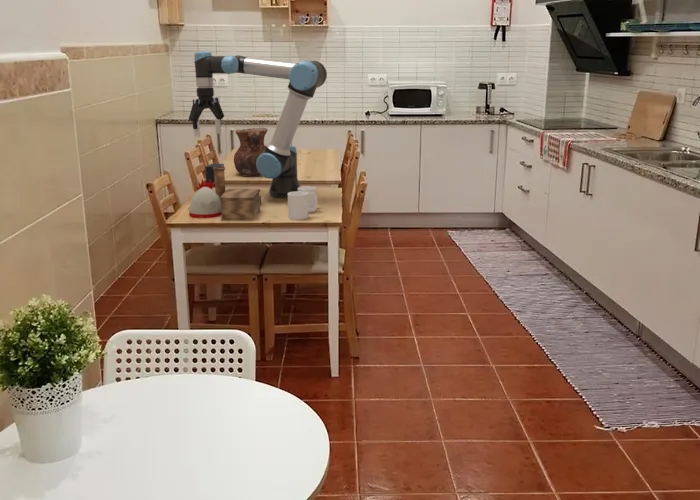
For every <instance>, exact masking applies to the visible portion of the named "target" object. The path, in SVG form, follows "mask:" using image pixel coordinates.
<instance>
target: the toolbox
mask: <svg viewBox="0 0 700 500" xmlns="http://www.w3.org/2000/svg"><path fill="white" fill-rule="evenodd" d="M260 193H261V188H227V189H225V193H224V194H223V195H222V196H221V197H220V201H221V214H222V215H221V220H222V221H254V220H255V219H256V217H257V216H258V215H259V212H260V211H261V204H262V195H260Z"/></svg>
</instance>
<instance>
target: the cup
mask: <svg viewBox="0 0 700 500" xmlns="http://www.w3.org/2000/svg"><path fill="white" fill-rule="evenodd" d="M312 194H314V197H315V207H314V208H308V196H309V195H312ZM317 206H318V198H317V192H316V193H314V192H313V193H307V192H303V191H295V192H289V193H288V197H287V213H288V214H287V215H288V216H287V217H288V219H289V220H294V221H295V220H296V221H300V220H301V221H302V220H307V219H309V214H310V213H308V211H315V210H317ZM315 212H316V211H315Z"/></svg>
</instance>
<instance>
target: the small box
mask: <svg viewBox="0 0 700 500" xmlns="http://www.w3.org/2000/svg"><path fill="white" fill-rule="evenodd" d="M213 167H225V164H224V163H211V164H208V165H206V166H204V171H205V179H206V180H207V183H208V184H209V181H210V179H211V184H213V182H215V176H214V170H213ZM213 188H215V183H214V186H213Z"/></svg>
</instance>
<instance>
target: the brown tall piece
mask: <svg viewBox="0 0 700 500" xmlns="http://www.w3.org/2000/svg"><path fill="white" fill-rule="evenodd" d="M213 170H214V176H215V187H214V188H215V189H214V191H215V192H216V194H217V195H218V196H220V197H221V196H222V195H223V194H224V193H225V191H226V176H225V175H226V174H225V170H226V166H224V167H213ZM219 199H220V198H219Z"/></svg>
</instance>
